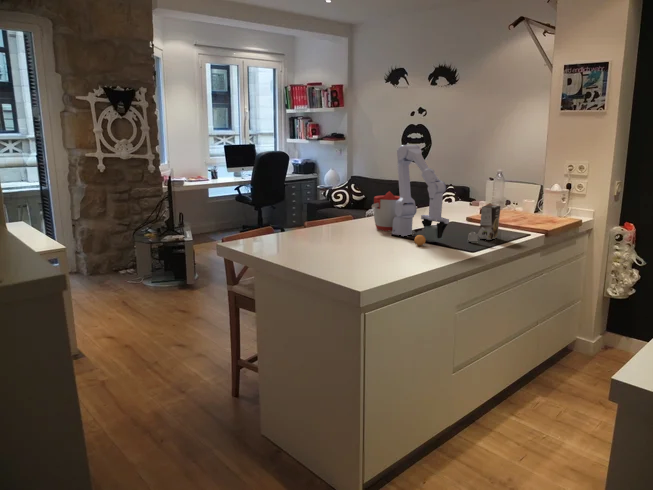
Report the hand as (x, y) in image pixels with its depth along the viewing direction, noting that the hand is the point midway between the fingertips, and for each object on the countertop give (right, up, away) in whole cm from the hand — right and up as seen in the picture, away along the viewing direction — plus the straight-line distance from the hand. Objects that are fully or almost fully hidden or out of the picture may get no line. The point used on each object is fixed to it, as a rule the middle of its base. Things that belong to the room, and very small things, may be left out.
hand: (433, 236), depth 238 cm
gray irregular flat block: (+20, -3, +1) cm, 20 cm away
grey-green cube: (0, -1, 0) cm, 1 cm away
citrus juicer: (-19, +4, +30) cm, 36 cm away
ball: (-8, -2, -6) cm, 10 cm away
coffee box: (+29, -1, +11) cm, 31 cm away
